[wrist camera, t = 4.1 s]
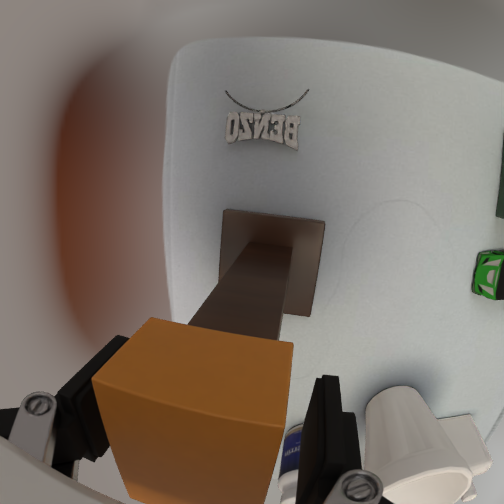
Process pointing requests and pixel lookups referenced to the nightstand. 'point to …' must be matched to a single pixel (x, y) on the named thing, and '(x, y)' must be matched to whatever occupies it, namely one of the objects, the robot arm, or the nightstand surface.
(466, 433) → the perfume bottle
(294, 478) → the pill bottle
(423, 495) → the cup
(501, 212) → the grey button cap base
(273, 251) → the stand
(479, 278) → the toy car
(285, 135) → the necklace
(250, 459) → the orange block
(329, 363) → the nightstand surface
